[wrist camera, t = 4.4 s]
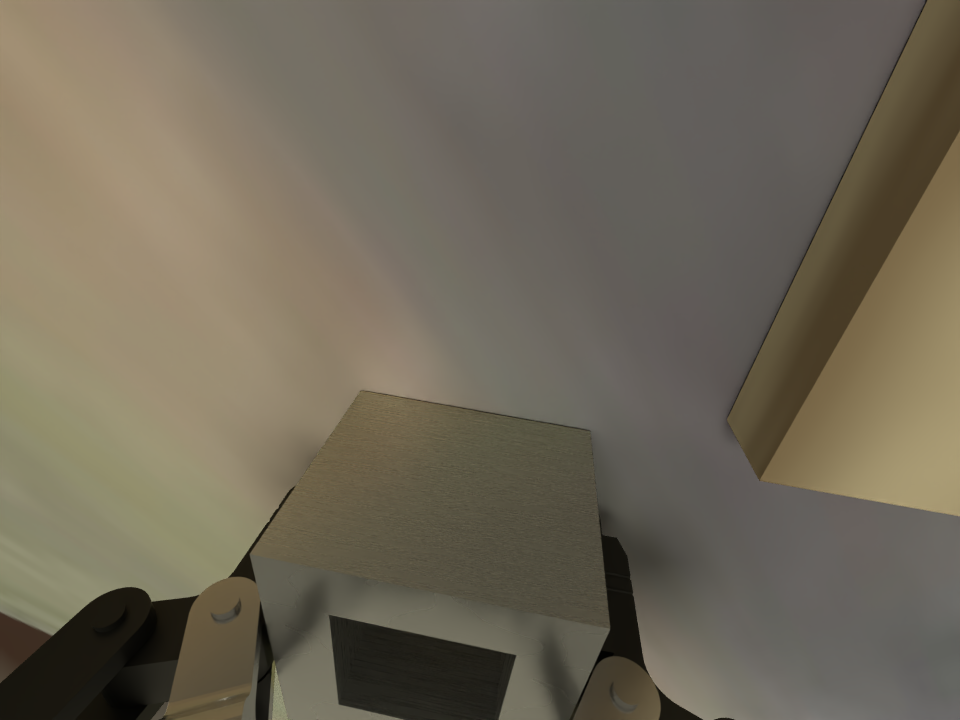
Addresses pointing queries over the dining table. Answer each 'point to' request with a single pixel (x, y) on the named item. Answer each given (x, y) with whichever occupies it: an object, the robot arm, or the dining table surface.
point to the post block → (876, 308)
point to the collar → (436, 569)
